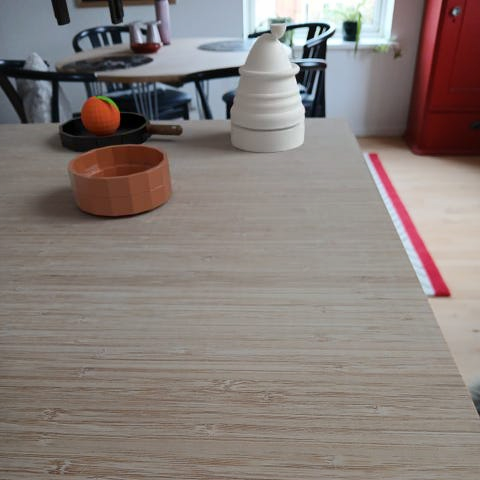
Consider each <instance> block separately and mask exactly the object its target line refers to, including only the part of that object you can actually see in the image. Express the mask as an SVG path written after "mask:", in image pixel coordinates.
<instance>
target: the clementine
mask: <svg viewBox="0 0 480 480" xmlns="http://www.w3.org/2000/svg"><path fill="white" fill-rule="evenodd" d="M120 112H121V111H120V110H119V107H118V106H117V104H116V103H115V102H114V101H113V100H112V99H111V98H110V97H108V96H105V95H98V94H96V95H93V96H91V97H88V99H87V100H86V101H85V102H84V103H83V105H82V106H81V111H80V117H81V119H82V122H83V124H84V126H85V127H86V129H87V130H88V131H89V132H90V133H92V134H94V135H96V136H108V135H111V134H113V133H114V132H115V131H116V130H117V128H118V126H119V123H120Z"/></svg>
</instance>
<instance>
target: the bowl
mask: <svg viewBox="0 0 480 480" xmlns="http://www.w3.org/2000/svg"><path fill="white" fill-rule="evenodd" d="M66 169H67V172H68V176H69V181H70V185H71V189H72V194H73V197H74V198H73V199H74V202H75V205H77V207H78V208H79V209H80V210H81V211H82V212H86V213H89V214H92V215H96V216H105V217H106V216H108V217H118V216H128V215H129V216H130V215H136V214H139V213H143V212H146V211H151V210H154V209H156V208H157V207H159V206H161V205H164V204H166V202H168V200H169V199H170V198H171V197H172V195H173V189H172V180H171V172H170V171H171V170H170V163H169V156H168V152H166V151H165V150H163V149H162V148H160V147H157V146H152V145H148V144H139V145H134V144H127V145H115V146H108V147H103V148H98V149H94V150H91V151H88V152H82V153H80V154H78V155H77V156H75V157H73V158H72V159H71V160H70V161H69V162H68V165H67V168H66Z"/></svg>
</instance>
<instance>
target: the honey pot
mask: <svg viewBox="0 0 480 480" xmlns="http://www.w3.org/2000/svg"><path fill="white" fill-rule="evenodd" d="M269 30H270V33H269V32H265V33H262V34H261V35H260V36H259V37H258V38H257V39H256V40H255V42H254V43H253V44H252V46H251V48H250V50H249V52H248V55H247V57H246V60H245V61H244V64H243V65H241V66H240V67H239V68H238V74H239V75H240V76H239V80H238V82H237V83H238V84H237V87H236V88H235V91H234V92H235V95H234V97H233V104H232V106H231V108H230V112H229V114H230V140H231V145H232V146H234V147H235V148H237V149H239V150H242V151H245V152H251V153H278V152H279V153H280V152H286V151H289V150H293V149H296V148H298V147H300V146H301V145H302V144H304V141H305V126H306V125H305V123H306V122H305V118H306V116H305V114H306V108H305V106H304V103H303V102H302V100H303V99H302V98H303V97H302V96H301V93H300V92H301V91H300V90H301V89H300V87H299V85H298V82H297V79H296V75H297V74H299V72H300V70H301V68H300V66H299V65H298V64H297V63H295V62H291V61H290V58H289V56H288V54H287V52H286V51H287V50H285V48H284V46H283V44H282V43H281V41H280V40H279V39H281V38H283V36H284V35H285V33H286V30H287V23H284V22H283V23H282V22H281V23H278V22H276V23H271V24H269Z"/></svg>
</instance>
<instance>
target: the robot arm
mask: <svg viewBox="0 0 480 480" xmlns="http://www.w3.org/2000/svg"><path fill="white" fill-rule="evenodd" d="M50 2H51V6H52V11H53V15H54V19H56V24H57V26H59V27H62V26H65V25H70V23H71V17H70V13H69V7H68V3H67V2H68V1H67V0H50ZM107 4H108V11H109V17H110V22H111V24H112V25H115V26H117V25H120V24H123V23H124V18H125V11H124V5H123V0H107Z"/></svg>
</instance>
